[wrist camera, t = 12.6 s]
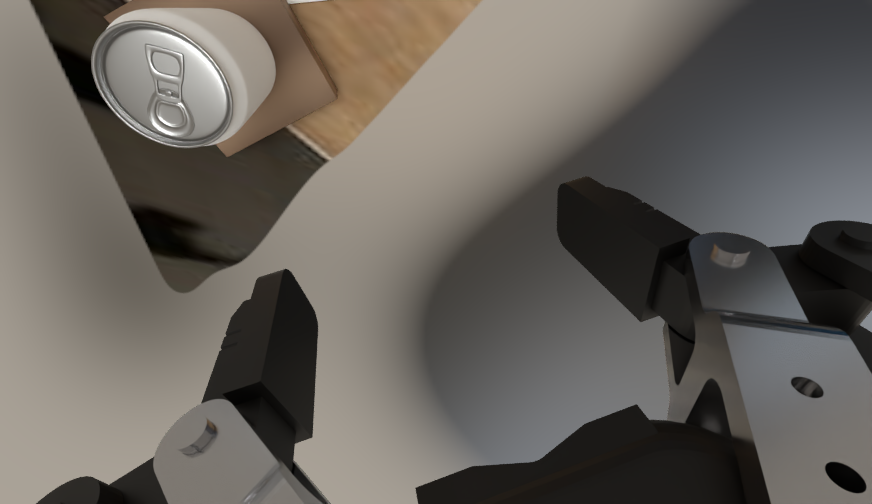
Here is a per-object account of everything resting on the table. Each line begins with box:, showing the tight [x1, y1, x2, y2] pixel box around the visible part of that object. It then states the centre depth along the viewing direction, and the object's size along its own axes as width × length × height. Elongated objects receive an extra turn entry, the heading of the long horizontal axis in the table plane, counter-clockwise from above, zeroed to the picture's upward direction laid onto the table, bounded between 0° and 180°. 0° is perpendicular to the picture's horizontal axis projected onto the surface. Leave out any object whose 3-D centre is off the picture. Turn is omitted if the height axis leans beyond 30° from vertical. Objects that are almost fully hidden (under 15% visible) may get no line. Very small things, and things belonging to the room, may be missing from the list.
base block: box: [104, 0, 337, 157], centre depth 27 cm, size 11×11×4 cm
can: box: [91, 8, 276, 148], centre depth 21 cm, size 6×6×12 cm
